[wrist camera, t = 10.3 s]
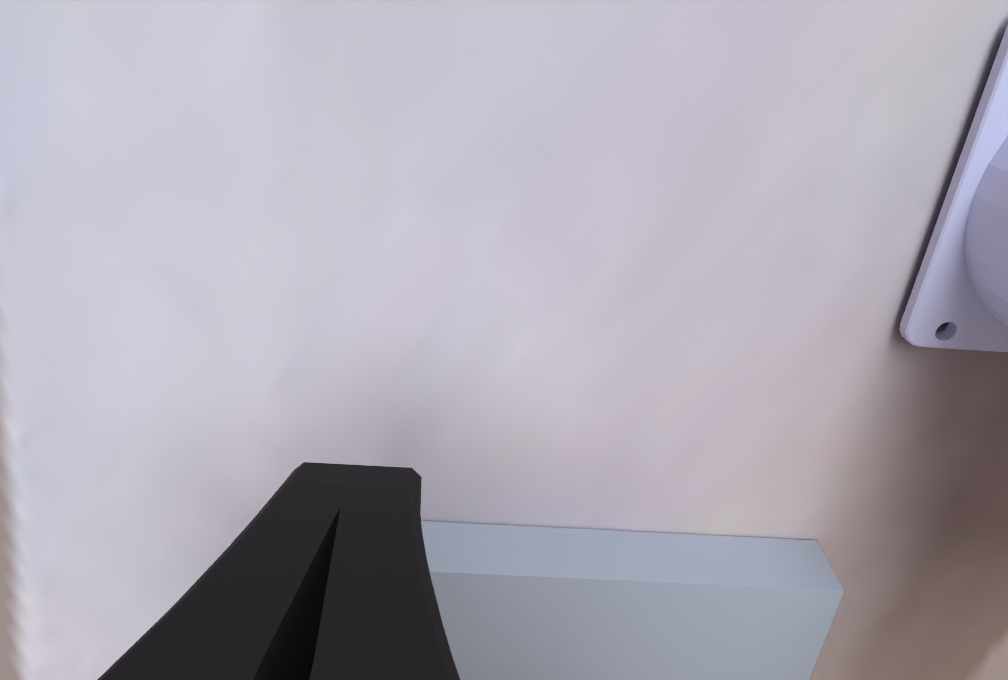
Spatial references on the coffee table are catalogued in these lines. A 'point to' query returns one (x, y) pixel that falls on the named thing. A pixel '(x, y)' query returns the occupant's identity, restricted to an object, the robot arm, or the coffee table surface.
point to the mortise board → (628, 603)
